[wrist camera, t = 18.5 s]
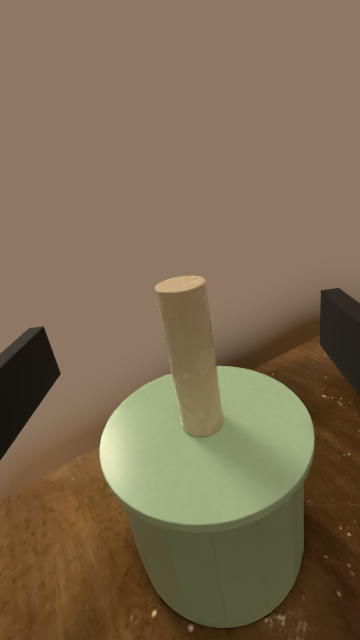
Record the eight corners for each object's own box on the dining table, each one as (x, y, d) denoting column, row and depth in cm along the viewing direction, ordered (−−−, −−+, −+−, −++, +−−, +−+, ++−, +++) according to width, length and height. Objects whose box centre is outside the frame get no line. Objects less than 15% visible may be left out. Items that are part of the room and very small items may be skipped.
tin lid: (97, 578, 13) (10, 379, 10) (107, 400, 25) (70, 277, 21) (370, 498, 15) (394, 294, 11) (259, 364, 27) (251, 242, 23)
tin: (148, 656, 18) (107, 551, 14) (138, 482, 28) (112, 396, 25) (340, 595, 19) (349, 482, 15) (260, 450, 29) (254, 363, 26)
